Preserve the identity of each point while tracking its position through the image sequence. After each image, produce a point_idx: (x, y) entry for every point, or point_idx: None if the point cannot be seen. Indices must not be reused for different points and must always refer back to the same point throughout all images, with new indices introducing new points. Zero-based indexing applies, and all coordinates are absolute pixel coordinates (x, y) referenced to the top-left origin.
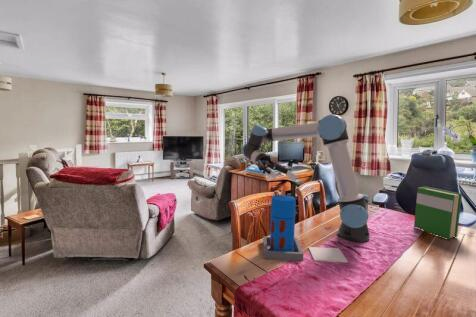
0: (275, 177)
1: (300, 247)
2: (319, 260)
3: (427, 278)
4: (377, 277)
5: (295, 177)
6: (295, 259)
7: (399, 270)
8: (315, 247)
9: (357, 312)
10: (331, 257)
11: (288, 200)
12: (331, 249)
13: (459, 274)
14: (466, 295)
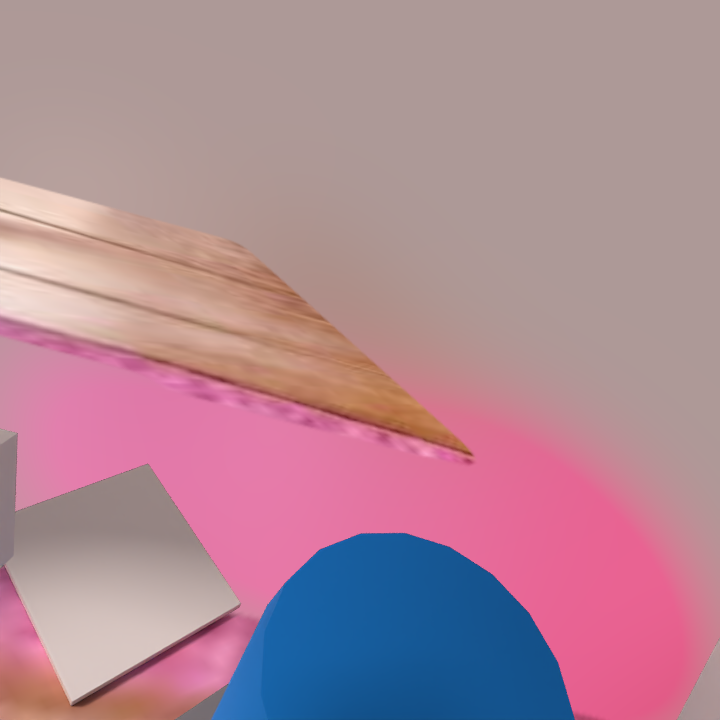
0: (690, 703)
1: (212, 697)
2: (224, 580)
3: (109, 267)
4: (207, 377)
5: (3, 490)
6: None
7: (96, 318)
8: (53, 653)
9: (441, 423)
10: (152, 533)
11: (465, 574)
12: (32, 555)
13: (18, 198)
14: (159, 226)
